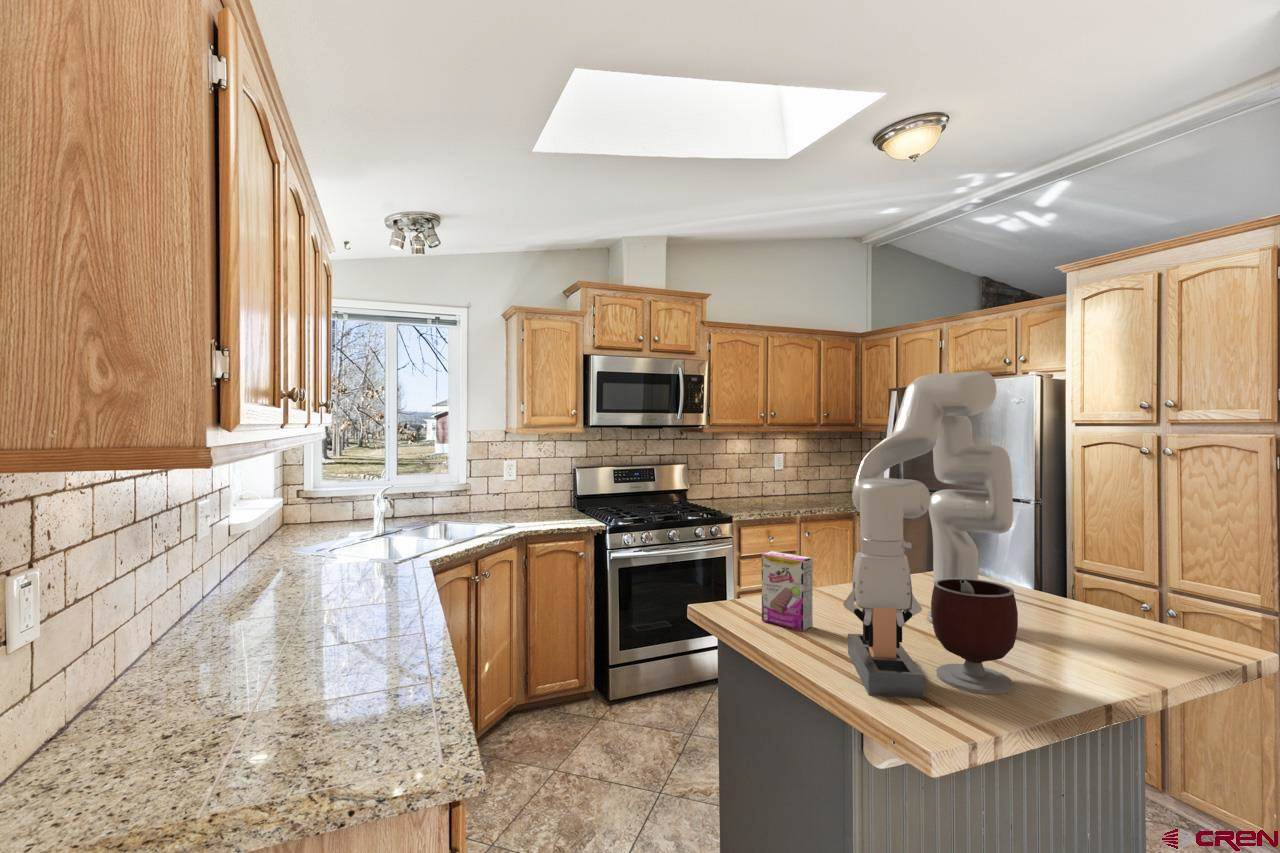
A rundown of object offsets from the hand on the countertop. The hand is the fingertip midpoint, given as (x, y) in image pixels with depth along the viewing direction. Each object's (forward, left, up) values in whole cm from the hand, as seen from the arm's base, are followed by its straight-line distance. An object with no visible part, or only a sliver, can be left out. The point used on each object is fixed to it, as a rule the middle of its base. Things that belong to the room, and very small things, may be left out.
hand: (882, 644), depth 112 cm
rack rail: (0, 0, -5) cm, 5 cm away
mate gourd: (-15, +1, -6) cm, 16 cm away
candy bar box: (+16, -27, -6) cm, 32 cm away
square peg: (0, 0, -4) cm, 4 cm away
